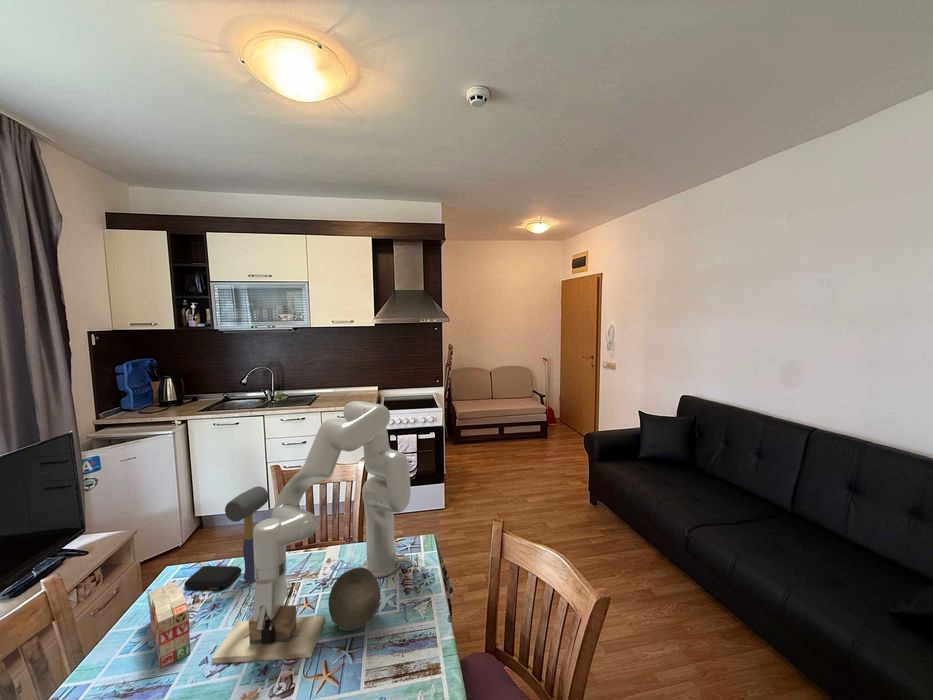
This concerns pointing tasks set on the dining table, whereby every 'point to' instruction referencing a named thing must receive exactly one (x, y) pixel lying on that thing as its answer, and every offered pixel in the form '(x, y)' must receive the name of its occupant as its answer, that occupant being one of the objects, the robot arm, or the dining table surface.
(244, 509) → the rubber mallet
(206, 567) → the carrying case or bag
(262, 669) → the dining table surface
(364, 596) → the cantaloupe
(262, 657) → the birch board
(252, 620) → the sanding block
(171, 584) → the stack of blocks
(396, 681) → the dining table surface
